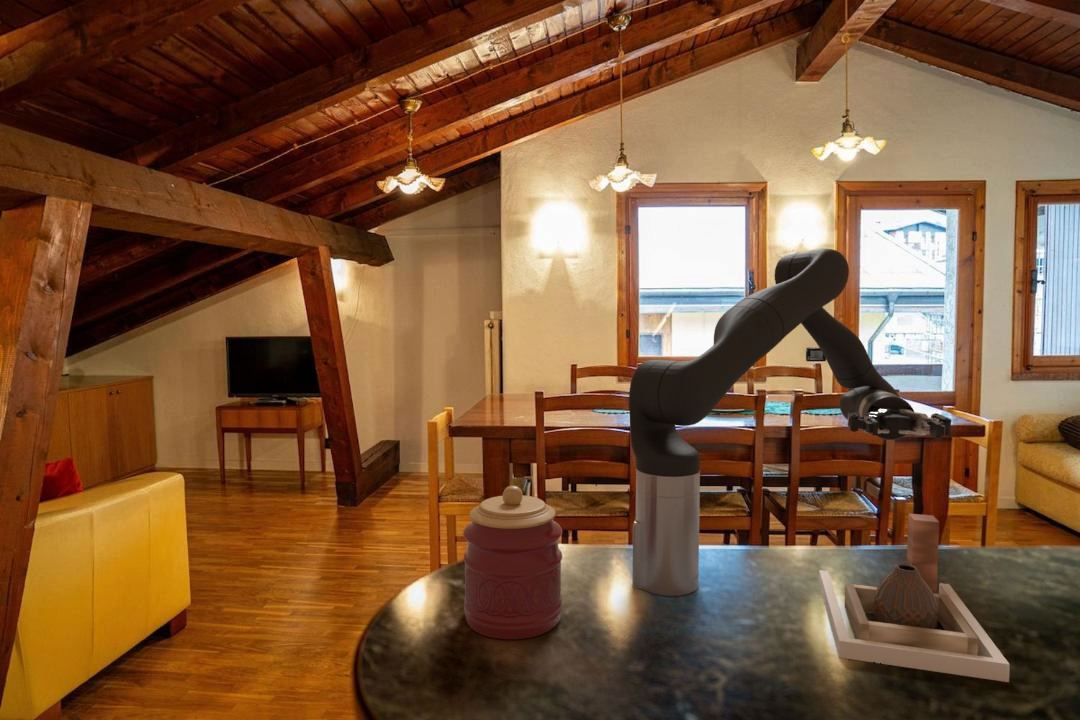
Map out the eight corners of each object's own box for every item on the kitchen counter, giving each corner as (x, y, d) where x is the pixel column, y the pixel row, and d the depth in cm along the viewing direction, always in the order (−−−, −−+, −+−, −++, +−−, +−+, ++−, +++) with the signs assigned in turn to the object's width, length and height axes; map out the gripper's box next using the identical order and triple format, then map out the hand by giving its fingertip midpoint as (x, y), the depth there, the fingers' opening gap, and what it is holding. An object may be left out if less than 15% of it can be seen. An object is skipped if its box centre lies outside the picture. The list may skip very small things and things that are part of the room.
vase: (946, 653, 76) (949, 580, 75) (883, 647, 77) (885, 576, 76) (924, 625, 82) (926, 558, 82) (866, 620, 84) (868, 555, 83)
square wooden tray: (859, 649, 76) (861, 550, 75) (838, 590, 92) (841, 508, 92) (977, 666, 72) (981, 561, 71) (934, 601, 89) (937, 515, 88)
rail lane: (839, 657, 75) (839, 640, 74) (819, 583, 95) (819, 570, 95) (1008, 682, 69) (1009, 664, 69) (948, 598, 90) (949, 584, 90)
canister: (443, 619, 84) (441, 487, 83) (513, 588, 94) (512, 469, 93) (512, 653, 76) (512, 506, 75) (582, 616, 85) (582, 485, 84)
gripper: (841, 392, 114) (855, 404, 99) (932, 394, 110) (962, 407, 94) (840, 433, 115) (854, 452, 99) (930, 437, 110) (960, 457, 95)
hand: (907, 430), depth 97 cm, fingers open, 8 cm apart
